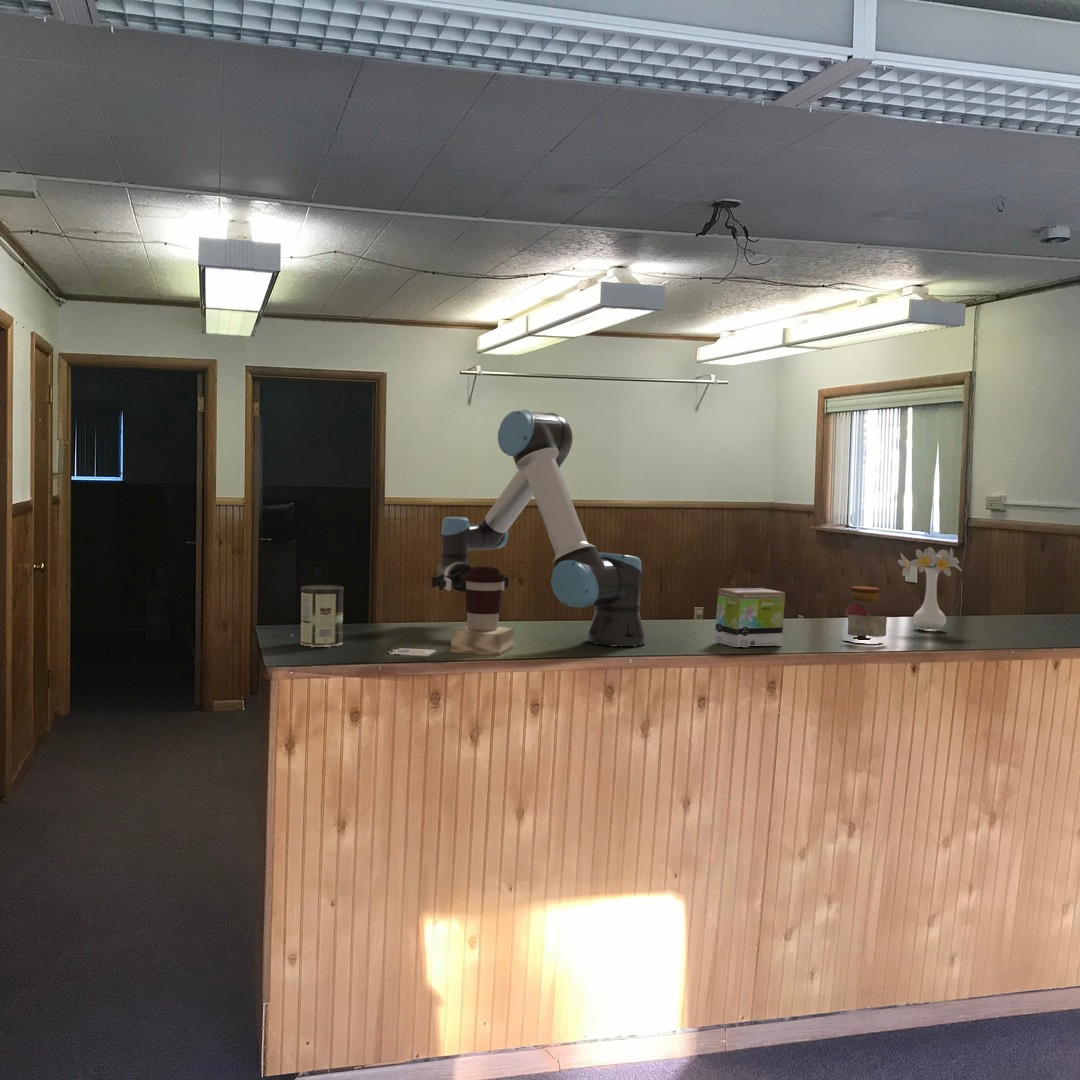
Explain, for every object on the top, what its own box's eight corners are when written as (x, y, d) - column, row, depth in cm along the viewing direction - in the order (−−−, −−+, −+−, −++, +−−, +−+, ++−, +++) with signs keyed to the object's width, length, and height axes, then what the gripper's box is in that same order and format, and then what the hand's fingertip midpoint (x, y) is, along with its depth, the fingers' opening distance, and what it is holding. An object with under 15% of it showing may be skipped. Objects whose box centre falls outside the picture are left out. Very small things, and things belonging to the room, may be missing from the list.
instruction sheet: (436, 650, 259) (436, 649, 259) (428, 656, 251) (428, 655, 251) (395, 648, 260) (395, 647, 260) (386, 654, 252) (386, 652, 252)
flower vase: (888, 627, 327) (892, 545, 325) (941, 627, 332) (946, 546, 330) (913, 634, 314) (918, 548, 313) (968, 633, 319) (973, 549, 317)
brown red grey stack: (829, 638, 300) (832, 585, 299) (869, 638, 304) (872, 585, 303) (851, 645, 289) (854, 590, 288) (893, 645, 292) (896, 590, 291)
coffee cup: (487, 633, 256) (489, 570, 255) (453, 629, 261) (455, 567, 260) (510, 629, 264) (512, 568, 263) (477, 624, 269) (479, 565, 268)
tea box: (737, 649, 277) (740, 592, 276) (713, 643, 285) (716, 587, 285) (783, 646, 284) (786, 590, 283) (759, 640, 292) (761, 586, 291)
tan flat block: (514, 647, 267) (514, 627, 267) (499, 655, 255) (499, 634, 255) (466, 644, 270) (467, 624, 270) (449, 651, 258) (450, 631, 258)
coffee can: (326, 639, 270) (327, 583, 269) (351, 645, 263) (352, 587, 262) (291, 643, 263) (292, 586, 262) (316, 649, 256) (317, 590, 255)
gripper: (505, 590, 295) (524, 600, 275) (414, 590, 288) (426, 600, 268) (505, 563, 294) (525, 571, 274) (414, 562, 288) (427, 570, 268)
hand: (476, 585), depth 271 cm, fingers open, 13 cm apart
